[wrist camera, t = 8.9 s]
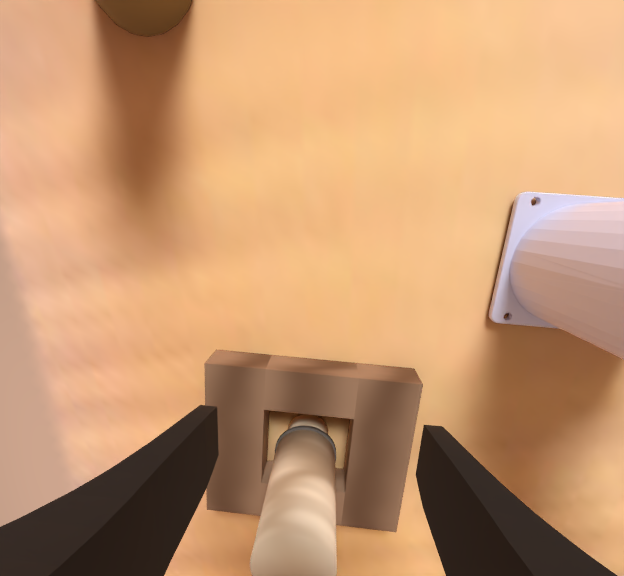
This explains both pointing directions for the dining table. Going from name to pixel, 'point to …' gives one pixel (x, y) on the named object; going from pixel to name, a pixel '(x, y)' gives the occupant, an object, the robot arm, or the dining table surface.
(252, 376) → the walnut board
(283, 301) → the dining table surface
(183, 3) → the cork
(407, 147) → the dining table surface
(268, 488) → the ash peg
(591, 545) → the dining table surface
